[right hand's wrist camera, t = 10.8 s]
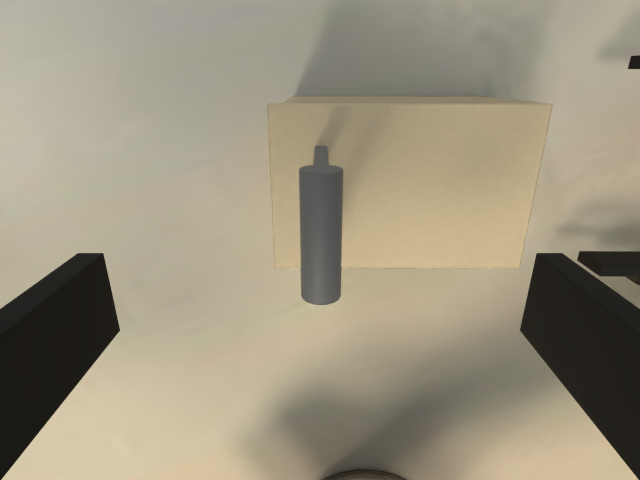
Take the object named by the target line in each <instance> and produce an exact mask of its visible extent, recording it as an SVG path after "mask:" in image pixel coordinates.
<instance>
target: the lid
mask: <svg viewBox="0 0 640 480" xmlns="http://www.w3.org/2000/svg"><path fill="white" fill-rule="evenodd" d="M267 110H268V131H269V153H270V175H271V197H272V218H273V240H274V262H275V268H301V296H302V298H303V299H304V300H305V301H306V302H308V303H311V304H316V305H327V304H331V303H334V302H336V301H337V300H338V299H339V298H340V296H341V268H520V263H521V258H522V253H523V248H524V243H525V238H526V233H527V228H528V224H529V219H530V214H531V209H532V204H533V199H534V194H535V189H536V184H537V179H538V174H539V169H540V164H541V160H542V155H543V150H544V145H545V140H546V135H547V130H548V125H549V120H550V115H551V110H552V104H547V103H270V104H268V105H267Z"/></svg>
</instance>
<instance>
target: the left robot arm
mask: <svg viewBox="0 0 640 480" xmlns="http://www.w3.org/2000/svg"><path fill="white" fill-rule="evenodd" d="M628 69H640V56H631V59H630V63H629V67H628ZM578 261H579V262H580V263H582V264H583V265H585V266H586V267H587V268H589V269H590V270H592V271H593V272H595V273H596V274H597V275H599V276H625V277H627V278H628V279H630V280H631V281H633V282H634V283H636V284H638V285H640V252H605V251H580V252H579V256H578ZM325 480H403V479H402V478H399V477H397V476H395V475H392V474H389V473H385V472H380V471H372V470H358V471H350V472H345V473H341V474H337V475H334V476H332V477H329V478H327V479H325Z"/></svg>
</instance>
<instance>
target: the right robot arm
mask: <svg viewBox="0 0 640 480" xmlns="http://www.w3.org/2000/svg"><path fill="white" fill-rule="evenodd" d="M119 331H120V328H119V323H118V319H117V314H116V310H115V305H114V300H113V296H112V291H111V287H110V282H109V278H108V273H107V268H106V264H105V259H104V255H103V253H78V254H76V255H75V256H73V257H72V258H71V259H69V260H68V261H67V262H65V263H64V264H62V265H61V266H60V267H58V268H57V269H55V270H54V271H53V272H51V273H50V274H48V275H47V276H46V277H44V278H43V279H42V280H40V281H39V282H37V283H36V284H35V285H33V286H32V287H30V288H29V289H28V290H26V291H25V292H24V293H22V294H21V295H19V296H18V297H17V298H15V299H14V300H12V301H11V302H10V303H8V304H7V305H5V306H4V307H3V308H1V309H0V480H1V479H2V478H3V477H4V475H5V474H6V473H7V472H8V470H9V469H10V468H11V467H12V465H13V464H14V463H15V462H16V460H17V459H18V458H19V457H20V455H21V454H22V453H23V452H24V450H25V449H26V448H27V447H28V445H29V444H30V443H31V442H32V440H33V439H34V438H35V436H36V435H37V434H38V433H39V431H40V430H41V429H42V428H43V426H44V425H45V424H46V423H47V421H48V420H49V419H50V418H51V416H52V415H53V414H54V413H55V411H56V410H57V409H58V408H59V406H60V405H61V404H62V403H63V401H64V400H65V399H66V398H67V396H68V395H69V394H70V392H71V391H72V390H73V389H74V387H75V386H76V385H77V384H78V382H79V381H80V380H81V379H82V377H83V376H84V375H85V374H86V372H87V371H88V370H89V369H90V367H91V366H92V365H93V364H94V362H95V361H96V360H97V359H98V357H99V356H100V355H101V354H102V352H103V351H104V350H105V349H106V347H107V346H108V345H109V343H110V342H111V341H112V340H113V338H114V337H115V336H116V335H117V333H118V332H119ZM520 331H521V332H522V333H523V335H524V336H525V337H526V338H527V340H528V341H529V342H530V343H531V345H532V346H533V347H534V349H535V350H536V351H537V352H538V354H539V355H540V356H541V357H542V359H543V360H544V361H545V362H546V364H547V365H548V366H549V367H550V369H551V370H552V371H553V372H554V374H555V375H556V376H557V377H558V379H559V380H560V381H561V382H562V384H563V385H564V386H565V387H566V389H567V390H568V391H569V392H570V394H571V395H572V396H573V398H574V399H575V400H576V401H577V403H578V404H579V405H580V406H581V408H582V409H583V410H584V411H585V413H586V414H587V415H588V416H589V418H590V419H591V420H592V421H593V423H594V424H595V425H596V426H597V428H598V429H599V430H600V431H601V433H602V434H603V435H604V436H605V438H606V439H607V440H608V442H609V443H610V444H611V445H612V447H613V448H614V449H615V450H616V452H617V453H618V454H619V455H620V457H621V458H622V459H623V460H624V462H625V463H626V464H627V465H628V467H629V468H630V469H631V470H632V472H633V473H634V474H635V475H636V477H637V478H638V479H639V480H640V309H639V308H637V307H636V306H635V305H633V304H632V303H630V302H629V301H628V300H626V299H625V298H623V297H622V296H621V295H619V294H618V293H616V292H615V291H614V290H612V289H611V288H610V287H608V286H607V285H605V284H604V283H603V282H601V281H600V280H598V279H597V278H596V277H594V276H593V275H591V274H590V273H589V272H587V271H586V270H585V269H583V268H582V267H580V266H579V265H578V264H576V263H575V262H573V261H572V260H571V259H569V258H568V257H567V256H565V255H564V254H562V253H537V255H536V259H535V264H534V268H533V273H532V278H531V282H530V287H529V291H528V296H527V300H526V305H525V310H524V314H523V319H522V323H521V328H520Z"/></svg>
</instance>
